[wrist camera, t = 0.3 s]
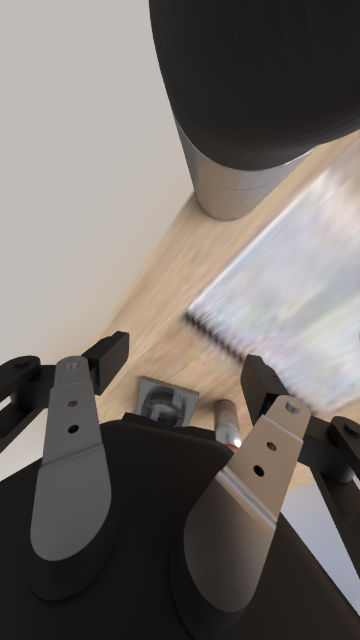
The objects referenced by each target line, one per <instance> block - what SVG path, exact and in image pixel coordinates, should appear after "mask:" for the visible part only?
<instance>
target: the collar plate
mask: <svg viewBox="0 0 360 640" xmlns="http://www.w3.org/2000/svg"><path fill="white" fill-rule="evenodd" d="M198 397H199V392H196V391H193V390H189V389H186V388H182V387H179V386H176V385H172V384H169V383H165V382H162V381H158V380H155V379H152V378H148V377H145V376H143V377H142V379H141V384H140V390H139V396H138V402H137V408H136V414H137V415H142V416H146V417H149V418H151V419H153V420H155V421H157V422H159V423H161V424H163V425H165V426H168V427H186V426H189V423H190V420H191V417H192V414H193V411H194V408H195V406H196V403H197V400H198Z"/></svg>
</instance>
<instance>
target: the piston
mask: <svg viewBox="0 0 360 640" xmlns="http://www.w3.org/2000/svg"><path fill="white" fill-rule="evenodd" d="M214 431H216V440H218V441H220V442H221V443H223V444H224V445H226V446H227V447H229V448H230V449H231V450H232V451H233V452H234V453H235V452H236V451H237V449H238V448H239V446H240V445H241V444H242V441H241V434H240V428H239V422H238V415H237V409H236V405H235V404H234V403H233V402H232V401H230V400H226V399H222V400H219V401H217V402H216V403H215V404H214Z"/></svg>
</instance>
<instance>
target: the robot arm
mask: <svg viewBox="0 0 360 640" xmlns="http://www.w3.org/2000/svg"><path fill="white" fill-rule="evenodd" d="M149 8H150V20H151V27H152V33H153V39H154V44H155V49H156V53H157V58H158V62H159V66H160V70H161V74H162V77H163V81H164V84H165V88H166V91H167V95H168V98H169V101H170V105H171V109H172V112H173V115H174V119H175V123H176V126H177V130H178V133H179V137H180V141H181V143H182V147H183V150H184V154H185V158H186V161H187V165H188V168H189V172H190V175H191V179H192V183H193V186H194V190H195V194H196V197H197V200H198V203H199V204H200V206H201V208H202V209H203V210H204V211H205V212H206V214H208V215H209V216H211V217H212V218H214V219H217V220H219V221H233V220H237V219H239V218H242V217H243V216H245V215H247V214H248V213H249V212H251V211H252V210H253V209H254V208H255V207H256V206H257V205H258V204H259V203H260V202H261V201H263V200H264V199H265V198H266V197H267V196H268V195H269V194H270V193H271V192H272V191H273V190H274V189H275V188H276V187H277V186H278V185H279V184H280V183H281V182H282V181H283V180H284V179H285V178H287V177H288V176H289V175H290V174H291V173H292V172H293V171H294V170H295V169H296V168H297V167H298V166H299V165H300V164H301V163H302V162H303V161H304V160H305V159H306V158H307V157H308V156H309V155H310V154H311V153H312V152H313V151H314V150H315V149H316V148H317V147H318V146H320V145H321V144H324V143H327V142H331V141H333V140H336V139H339V138H341V137H344V136H346V135H348V134H350V133H353V132H355V131H357V130H359V129H360V0H149ZM128 355H129V333H127V332H121V331H117V332H115V333H114V334H113V335H112V336H111V337H109V336H108V337H106V338H103V339H101V340H100V341H98V342H97V343H96V344H95V345H93V347H91V348H89V349H88V350H87V351H86V352H84V353H83V354H82V355H81V356H70V357H66V358H64V359H62V360H60V361H59V362H58V363H57V364H56V365H41V363H40V359H39V358H38V357H36V356H22V357H18V358H15V359H12V360H9V361H8V362H6V363H4V364H2V365H1V366H0V403H1V402H2V401H3V400H4V399H6V398H7V397H8V396H10V398H11V403H9V404H8V405H7V406H6V407H4V408H3V409H2V410H1V411H0V453H1V452H2V451H3V450H4V449H5V448H6V447H7V446H8V445H9V444H10V443H11V442H12V441H13V440H14V439H15V438H16V437H17V436H18V435H19V434H20V433H21V432H22V431H23V430H24V429H25V428H26V427H27V426H28V425H29V424H30V423H31V422H32V421H33V420H34V419H35V417H36V416H37V415H38V414H39V413H40V412H41V411H42V410H43V409H44V408H48V417H47V424H46V432H45V441H44V449H43V457H42V458H40V459H38V460H37V461H35V462H33V463H31V464H30V465H28V466H26V467H25V468H23V469H21V470H19V471H18V472H16V473H14V474H12V475H11V476H9V477H7V478H5V479H4V480H2V481H1V482H0V640H360V616H359V615H358V614H357V612H356V611H355V609H354V608H353V607H352V605H351V604H350V603H349V601H348V600H347V599H346V598H345V596H344V595H343V594H342V592H341V591H340V590H339V588H338V587H337V586H336V584H335V583H334V582H333V580H332V579H331V578H330V577H329V575H328V574H327V572H326V571H325V570H324V569H323V567H322V566H321V565H320V563H319V562H318V561H317V559H316V558H315V557H314V555H313V554H312V553H311V551H310V550H309V549H308V547H307V546H306V545H305V543H304V542H303V541H302V539H301V538H300V537H299V535H298V534H297V533H296V531H295V530H294V529H293V528H292V526H291V525H290V524H289V522H288V521H287V520H286V519H285V517H284V516H283V514H282V513H281V512H280V510H281V507H282V504H283V501H284V498H285V495H286V492H287V489H288V486H289V483H290V480H291V477H292V475H293V472H294V469H295V466H296V463H297V461H298V462H300V463H302V464H304V465H306V466H308V467H310V470H311V472H312V474H313V476H314V479H315V481H316V483H317V485H318V488H319V490H320V492H321V494H322V496H323V499H324V501H325V503H326V505H327V508H328V510H329V512H330V514H331V516H332V518H333V521H334V523H335V525H336V528H337V530H338V532H339V534H340V536H341V539H342V541H343V543H344V545H345V548H346V550H347V552H348V554H349V556H350V559H351V561H352V563H353V565H354V568H355V570H356V572H357V574H358V576H359V579H360V490H359V489H358V487H357V485H356V484H355V482H354V480H353V479H352V477H353V476H354V475H355V474H356V476H357V478H358V479H359V481H360V425H359V424H358V423H356V422H354V421H352V420H350V419H348V418H345V417H341V416H335V417H333V418H332V420H331V422H330V423H329V422H326V421H324V420H321V419H319V418H317V417H314V416H312V415H311V413H310V410H309V409H308V408H307V407H306V406H305V405H304V404H303V403H302V402H300V401H299V400H297V399H295V398H293V397H291V396H290V395H289V393H288V392H287V390H286V389H285V387H284V385H283V384H282V382H281V380H280V379H279V378H278V376H277V374H276V372H275V371H274V370H273V369H272V368H271V367H269V366H268V365H265V363H264V362H263V360H262V358H261V357H260V356H255V355H250V354H248V355H247V357H246V360H245V363H244V366H243V370H242V373H241V386H242V390H243V393H244V397H245V400H246V404H247V407H248V411H249V414H250V418H251V421H252V424H253V428H252V430H251V431H250V432H249V434H248V435H247V437H246V438H245V439H244V441H243V442H242V444H241V445H240V446H239V448H238V449H237V451H236V452H235V453H234V452H233V451H232V450H231V449H230V448H229V447H227V446H226V445H224V444H223V443H221V442H220V441H218V440H216V431H212V430H208V429H203V428H198V427H194V426H186V427H168V426H165V425H163V424H161V423H159V422H157V421H155V420H153V419H151V418H149V417H146V416H142V415H137V414H132V413H128V412H125V414H124V416H123V418H122V419H120V420H112V421H108V422H105V423H102V424H100V425H99V420H98V414H97V408H96V402H95V396H94V395H99V396H101V394H102V393H103V392H104V390H105V389H106V388H107V386H108V385H109V384H110V382H111V381H112V380H113V378H114V377H115V376H116V374H117V373H118V372H119V370H120V369H121V368H122V366H123V365H124V364H125V363H126V361H127V359H128Z"/></svg>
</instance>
